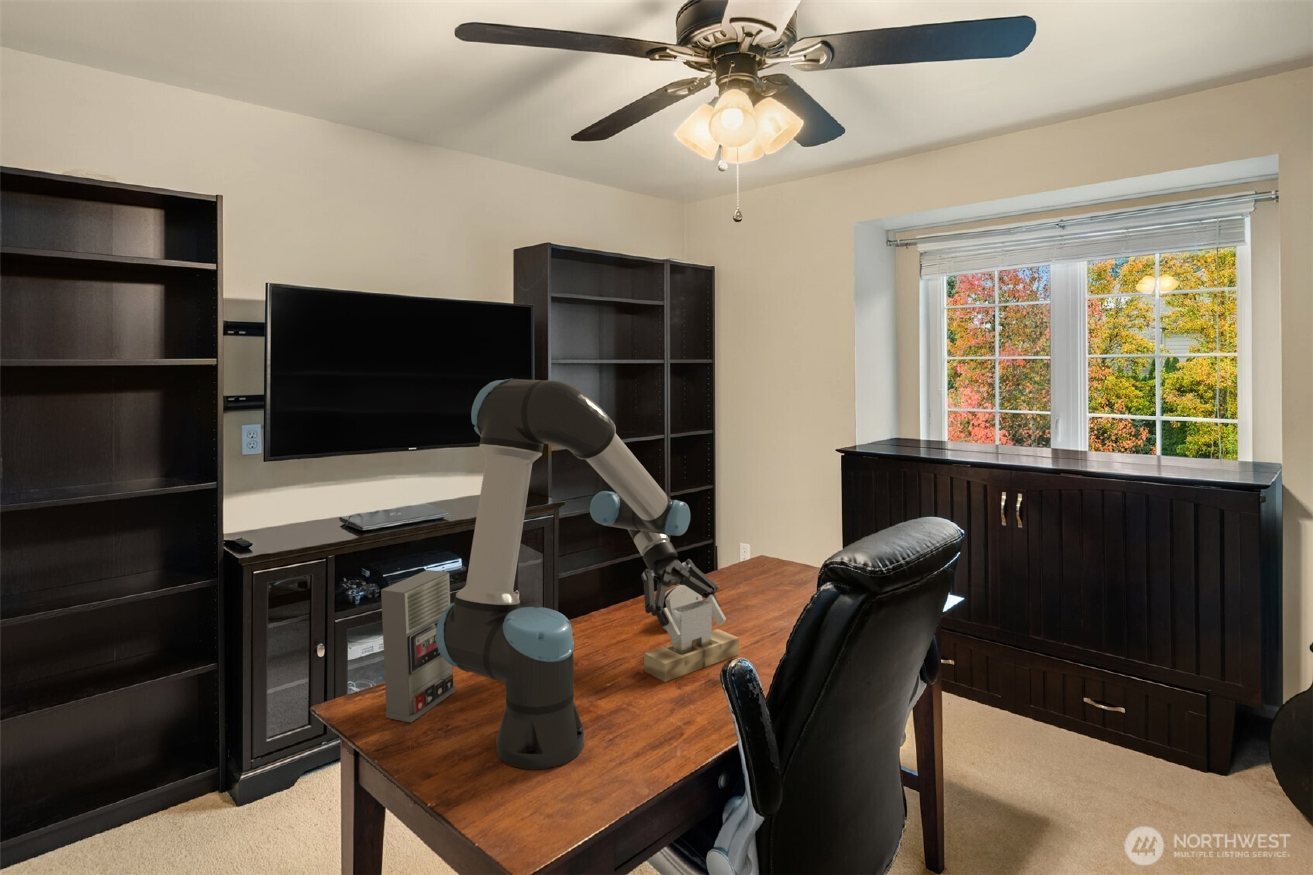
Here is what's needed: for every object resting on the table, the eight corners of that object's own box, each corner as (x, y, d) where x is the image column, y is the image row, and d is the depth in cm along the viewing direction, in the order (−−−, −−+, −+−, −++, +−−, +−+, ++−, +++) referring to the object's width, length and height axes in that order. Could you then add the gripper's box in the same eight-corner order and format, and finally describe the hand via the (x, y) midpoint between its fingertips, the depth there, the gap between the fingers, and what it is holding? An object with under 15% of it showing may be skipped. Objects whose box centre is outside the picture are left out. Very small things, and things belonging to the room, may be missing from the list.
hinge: (680, 633, 179) (668, 593, 180) (664, 635, 182) (653, 596, 183) (711, 612, 194) (700, 576, 194) (696, 615, 196) (686, 579, 197)
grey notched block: (681, 670, 158) (681, 612, 157) (672, 665, 160) (672, 608, 159) (711, 659, 164) (711, 603, 162) (702, 655, 166) (702, 599, 165)
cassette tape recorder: (412, 724, 135) (407, 593, 132) (385, 718, 137) (379, 589, 134) (457, 692, 148) (453, 572, 145) (432, 687, 150) (427, 569, 147)
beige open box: (665, 681, 152) (665, 663, 152) (644, 670, 158) (644, 653, 157) (738, 654, 166) (738, 637, 166) (717, 645, 172) (717, 628, 171)
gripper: (688, 548, 179) (731, 624, 170) (605, 567, 164) (647, 652, 154) (703, 531, 175) (748, 608, 165) (619, 549, 159) (664, 635, 149)
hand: (700, 630), depth 159 cm, fingers open, 13 cm apart
